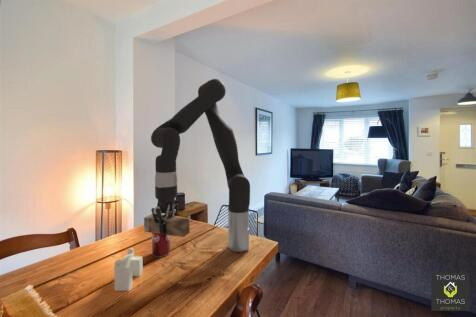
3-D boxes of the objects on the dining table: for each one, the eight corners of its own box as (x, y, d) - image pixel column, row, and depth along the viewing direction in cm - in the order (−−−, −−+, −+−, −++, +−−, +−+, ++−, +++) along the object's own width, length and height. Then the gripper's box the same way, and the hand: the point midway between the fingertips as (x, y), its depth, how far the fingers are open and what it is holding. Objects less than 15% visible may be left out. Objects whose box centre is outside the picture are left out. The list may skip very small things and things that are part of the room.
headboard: (142, 272, 84) (142, 247, 83) (128, 290, 73) (128, 261, 73) (130, 272, 84) (129, 247, 83) (114, 290, 74) (113, 261, 73)
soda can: (153, 259, 94) (152, 230, 93) (151, 251, 100) (150, 224, 100) (171, 255, 97) (171, 227, 96) (168, 248, 104) (167, 222, 103)
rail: (189, 232, 83) (189, 218, 82) (183, 237, 79) (183, 222, 78) (151, 227, 87) (151, 214, 87) (144, 231, 83) (144, 217, 83)
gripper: (168, 180, 90) (169, 224, 91) (143, 187, 76) (144, 237, 77) (185, 181, 88) (186, 226, 89) (163, 188, 74) (163, 240, 75)
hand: (166, 231), depth 83 cm, fingers closed on rail, 4 cm apart
